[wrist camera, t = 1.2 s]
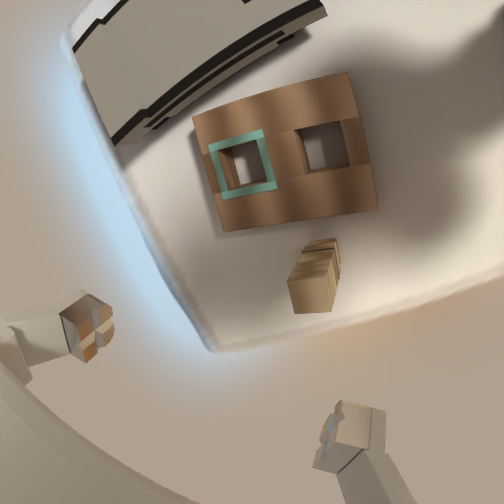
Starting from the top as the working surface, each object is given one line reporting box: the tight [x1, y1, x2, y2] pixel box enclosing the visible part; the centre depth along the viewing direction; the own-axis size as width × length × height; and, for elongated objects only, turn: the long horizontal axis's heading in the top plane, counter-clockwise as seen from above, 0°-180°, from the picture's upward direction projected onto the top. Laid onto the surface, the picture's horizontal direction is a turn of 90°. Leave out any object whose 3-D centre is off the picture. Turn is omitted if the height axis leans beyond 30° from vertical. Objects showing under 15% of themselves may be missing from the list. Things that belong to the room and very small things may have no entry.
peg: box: [287, 239, 341, 314], centre depth 36 cm, size 4×4×12 cm
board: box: [192, 72, 378, 232], centre depth 36 cm, size 20×16×4 cm
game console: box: [72, 0, 328, 146], centre depth 31 cm, size 21×32×8 cm, turn 120°
